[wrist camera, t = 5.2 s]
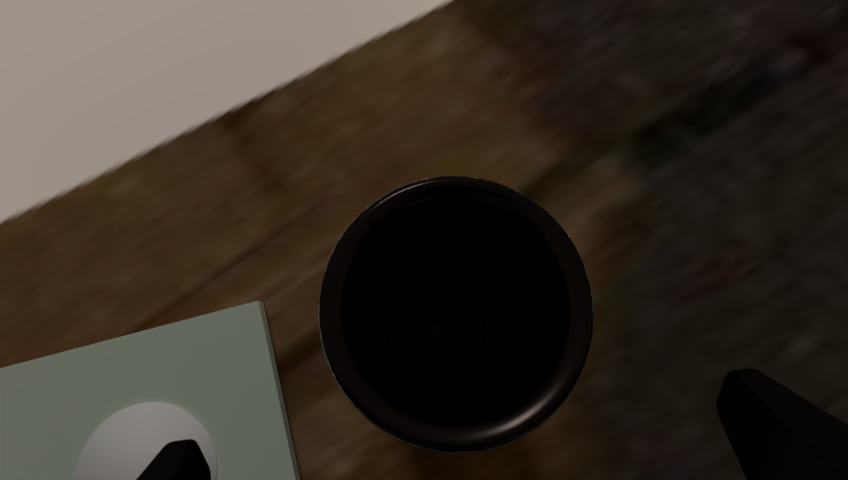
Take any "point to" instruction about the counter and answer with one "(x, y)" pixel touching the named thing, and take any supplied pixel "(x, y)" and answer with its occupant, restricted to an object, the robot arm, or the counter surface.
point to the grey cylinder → (455, 314)
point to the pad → (151, 403)
